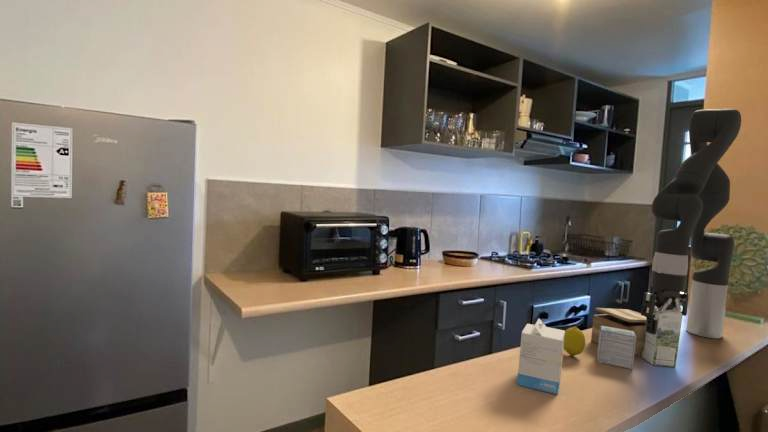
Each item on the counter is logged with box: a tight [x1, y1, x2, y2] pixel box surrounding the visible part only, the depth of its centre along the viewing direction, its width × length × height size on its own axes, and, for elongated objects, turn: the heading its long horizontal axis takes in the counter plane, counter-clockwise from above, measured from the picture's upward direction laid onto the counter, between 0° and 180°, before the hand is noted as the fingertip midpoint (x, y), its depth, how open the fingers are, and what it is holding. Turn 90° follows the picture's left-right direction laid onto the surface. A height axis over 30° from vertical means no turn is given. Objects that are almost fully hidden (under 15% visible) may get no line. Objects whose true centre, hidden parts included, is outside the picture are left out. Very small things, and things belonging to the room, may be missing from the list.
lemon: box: [563, 326, 586, 357], centre depth 109 cm, size 6×6×8 cm
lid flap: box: [595, 307, 646, 322], centre depth 119 cm, size 14×11×1 cm
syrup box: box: [641, 306, 684, 368], centre depth 109 cm, size 6×6×14 cm
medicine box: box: [596, 326, 636, 370], centre depth 107 cm, size 8×4×9 cm, turn 65°
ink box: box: [517, 318, 566, 395], centre depth 92 cm, size 9×8×13 cm
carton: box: [590, 313, 646, 357], centre depth 119 cm, size 14×11×8 cm
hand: (661, 332), depth 109 cm, fingers open, 8 cm apart
